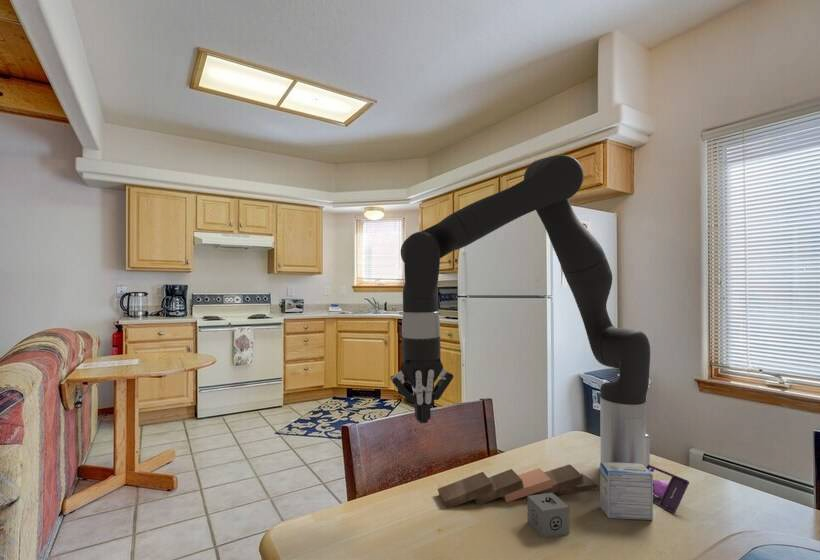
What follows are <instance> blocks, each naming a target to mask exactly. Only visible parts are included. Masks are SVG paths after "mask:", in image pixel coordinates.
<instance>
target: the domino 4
mask: <svg viewBox="0 0 820 560" xmlns="http://www.w3.org/2000/svg"><path fill="white" fill-rule="evenodd" d="M543 472H544V473H545V474H546V475H547V476H548V477H549V478H550V479H551V481H552V486H553V487H551V488H548V489H545V490H542V491H539V492H536V493H535V495H537V494H545V493H553V494H555V492H558V491H562V490H565V489H568V488H571V487H574V486H577V485H580V484H584V479H583V476H582V475H581V474H582V473H580V472H579V471H578V470H577V469H576V468H575V467H574V466H573V465H572V464H566V465H563V466H560V467H557V468H554V469H550V470H547V471H543Z"/></svg>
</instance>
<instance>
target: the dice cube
mask: <svg viewBox="0 0 820 560" xmlns="http://www.w3.org/2000/svg"><path fill="white" fill-rule="evenodd" d="M526 497H527V523H528V524H529V525H530V527H532V528H533V529H534V531H536V532H537V534H538V535H540V538H542V539H546V538H553V537H561V536H566V535H570V507H569V506H568V505H567V504H566V503H565V502H564V501H563V500H561V499H560V498H559V497H558V496H557V495H556V494H555V493H545V494H531V495H528V496H526Z"/></svg>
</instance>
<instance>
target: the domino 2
mask: <svg viewBox="0 0 820 560" xmlns="http://www.w3.org/2000/svg"><path fill="white" fill-rule="evenodd" d="M518 475H519V474H517V473H516V472H515V471H514V470H513V468H510V469H507V470H505V471H502V472H499V473H497V474H494V475H492V476H489V477H488V476H487V477H488V478H489V480H490V481H491V482H492V483H493V487H494V491H493V492H490V493H488V494H485V495H483V496H480V497H478V498H475V499H473V500H474V502H475V503H476V505H483V504H485V503H487V502H488V503H489V502H491V501H493V500H496V499H499V498H502V496H504V495H507V494H509V493H512V492H514V491H517V490H520V489H522V488H524V485H523V482H522V479H521V478H520V477H519V476H518Z"/></svg>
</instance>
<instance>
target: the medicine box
mask: <svg viewBox="0 0 820 560" xmlns="http://www.w3.org/2000/svg"><path fill="white" fill-rule="evenodd" d="M599 469H600V470H599V480H600V482H599V483H600V484H599V485H600V491H599V494H600V496H599V497H600V500H599V501H600V507H601V509H602V510H603V512H604V514H605V515H606V516H607V518H608V519H623V520H624V519H626V520H642V521H643V520H644V521H645V520H646V521H653V520H654V506H653V504H654V503H653V501H654V500H653V494H654V493H653V480H654V475H653V472H651V471H649V470H648V469H647V468H646V467H645V466H643V465H642V464H635V463H610V462H601V461H600V463H599Z"/></svg>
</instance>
